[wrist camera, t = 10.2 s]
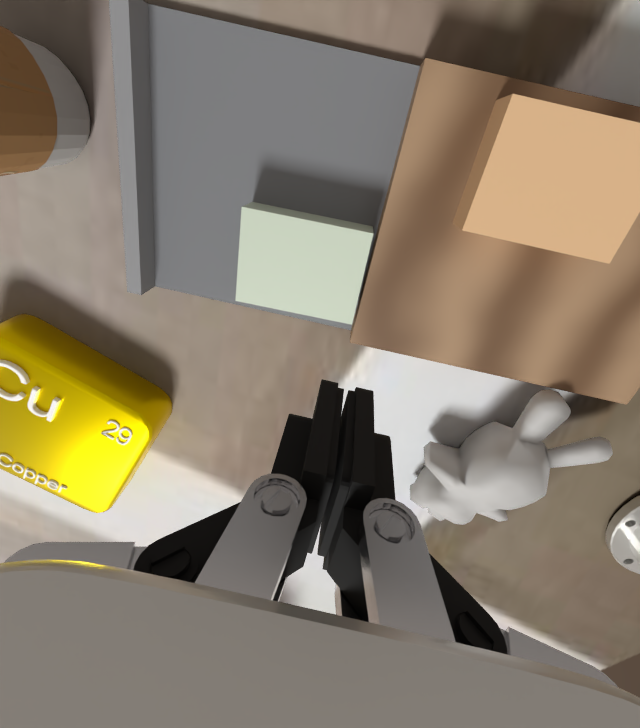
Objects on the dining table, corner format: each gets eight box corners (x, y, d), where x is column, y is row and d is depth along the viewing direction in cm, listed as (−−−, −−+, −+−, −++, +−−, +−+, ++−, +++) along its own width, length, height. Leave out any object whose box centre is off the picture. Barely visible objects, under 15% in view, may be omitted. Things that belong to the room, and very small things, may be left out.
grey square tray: (419, 67, 21) (425, 58, 19) (351, 328, 29) (349, 341, 27) (133, 2, 21) (108, -15, 19) (144, 281, 29) (127, 291, 27)
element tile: (-12, 416, 38) (-58, 449, 34) (18, 302, 31) (-35, 325, 27) (127, 486, 41) (100, 524, 37) (181, 396, 34) (156, 430, 30)
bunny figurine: (387, 498, 32) (558, 406, 24) (388, 453, 36) (535, 361, 28) (462, 552, 34) (641, 484, 26) (456, 503, 38) (609, 432, 30)
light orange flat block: (649, 135, 19) (685, 133, 17) (585, 252, 22) (609, 263, 20) (496, 100, 19) (512, 93, 17) (452, 222, 22) (461, 230, 20)
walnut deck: (771, 148, 21) (819, 148, 19) (607, 385, 29) (626, 404, 27) (419, 67, 21) (425, 57, 19) (351, 328, 29) (349, 342, 27)
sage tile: (372, 226, 25) (373, 233, 22) (353, 311, 28) (351, 324, 25) (252, 201, 25) (241, 206, 23) (245, 289, 28) (235, 300, 26)
